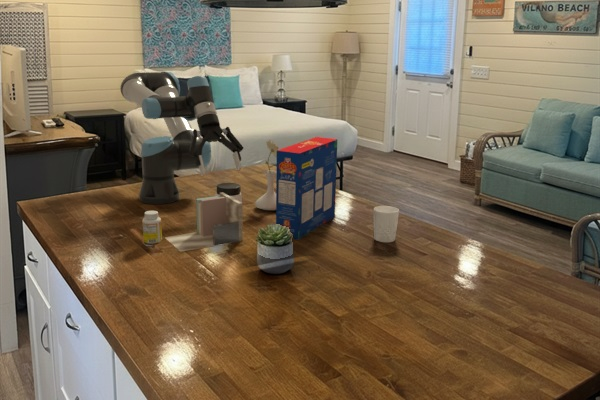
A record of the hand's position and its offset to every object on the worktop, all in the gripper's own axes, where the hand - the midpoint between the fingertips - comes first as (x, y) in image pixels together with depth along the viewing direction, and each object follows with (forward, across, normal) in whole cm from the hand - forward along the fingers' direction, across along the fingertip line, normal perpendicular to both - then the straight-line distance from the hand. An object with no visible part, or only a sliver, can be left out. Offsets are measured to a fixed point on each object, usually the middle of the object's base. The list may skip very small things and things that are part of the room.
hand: (221, 172), depth 213 cm
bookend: (+29, -12, -17) cm, 36 cm away
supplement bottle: (+23, -31, -6) cm, 39 cm away
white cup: (+40, +35, -30) cm, 61 cm away
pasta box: (+27, +20, -12) cm, 36 cm away
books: (+23, -12, -8) cm, 27 cm away
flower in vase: (+14, +19, +8) cm, 24 cm away
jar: (+16, 0, +4) cm, 17 cm away
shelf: (+26, -17, -11) cm, 33 cm away
